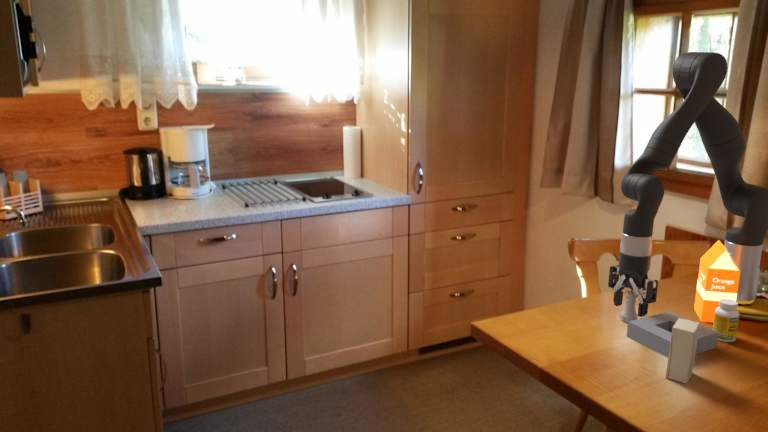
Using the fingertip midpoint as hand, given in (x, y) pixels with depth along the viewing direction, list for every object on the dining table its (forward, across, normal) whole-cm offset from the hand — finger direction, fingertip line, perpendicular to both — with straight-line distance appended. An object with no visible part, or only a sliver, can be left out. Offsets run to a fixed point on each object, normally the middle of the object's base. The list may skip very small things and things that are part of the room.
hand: (629, 310), depth 165 cm
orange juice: (+3, -8, -22) cm, 24 cm away
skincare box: (+3, -26, +13) cm, 29 cm away
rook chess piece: (+3, 0, 0) cm, 3 cm away
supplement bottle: (+3, -18, -13) cm, 22 cm away
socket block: (+3, -14, +1) cm, 14 cm away
